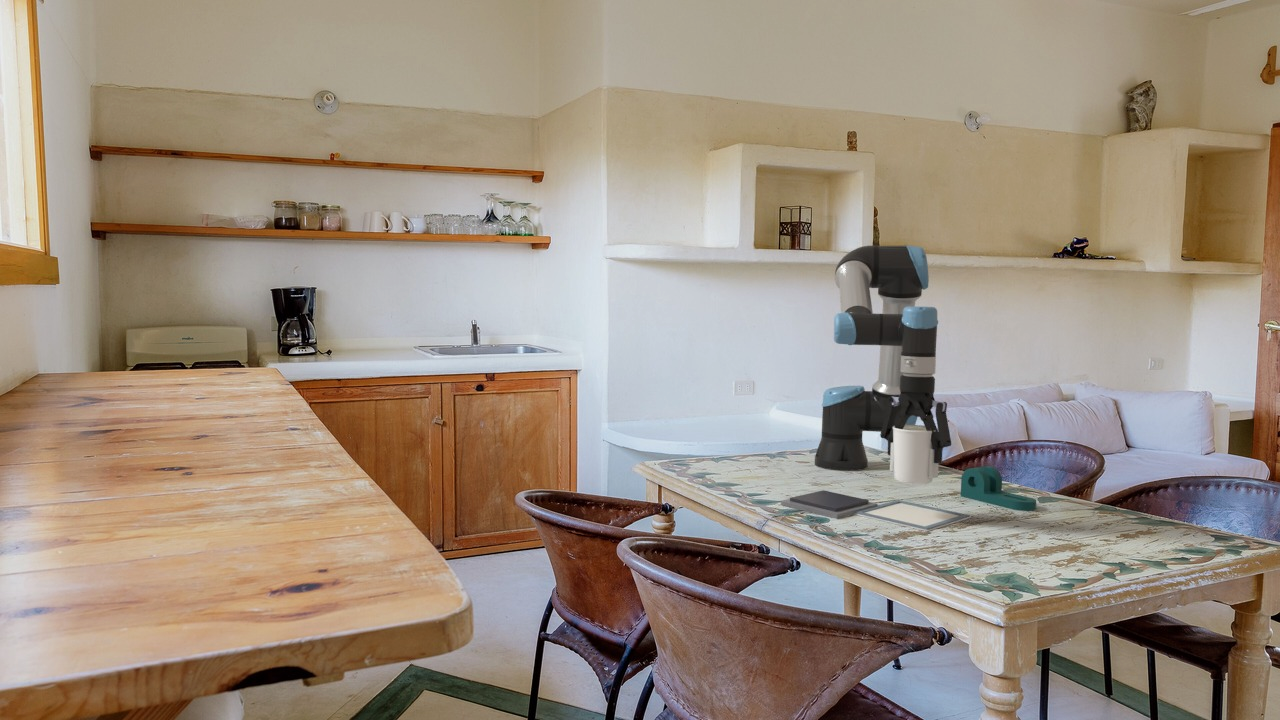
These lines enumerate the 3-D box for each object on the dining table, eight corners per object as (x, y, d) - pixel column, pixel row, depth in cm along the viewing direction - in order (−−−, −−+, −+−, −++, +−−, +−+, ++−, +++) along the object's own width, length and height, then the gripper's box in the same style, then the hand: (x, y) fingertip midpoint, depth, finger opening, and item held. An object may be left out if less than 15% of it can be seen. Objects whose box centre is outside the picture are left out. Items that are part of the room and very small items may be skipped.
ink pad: (821, 495, 220) (822, 488, 220) (877, 507, 209) (877, 500, 208) (780, 505, 210) (780, 497, 210) (836, 518, 198) (837, 510, 198)
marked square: (897, 501, 215) (897, 499, 215) (971, 517, 201) (971, 515, 201) (852, 513, 203) (852, 511, 203) (927, 531, 189) (927, 529, 189)
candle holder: (930, 476, 206) (932, 425, 205) (940, 485, 196) (942, 431, 195) (887, 475, 206) (889, 423, 206) (894, 483, 197) (897, 430, 196)
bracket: (960, 497, 222) (961, 466, 222) (978, 494, 226) (979, 463, 225) (1023, 513, 207) (1025, 479, 206) (1041, 509, 211) (1043, 477, 210)
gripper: (866, 372, 205) (862, 468, 207) (954, 379, 189) (949, 483, 190) (884, 370, 210) (881, 464, 212) (971, 378, 194) (967, 479, 195)
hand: (913, 473), depth 201 cm, fingers closed on candle holder, 9 cm apart
